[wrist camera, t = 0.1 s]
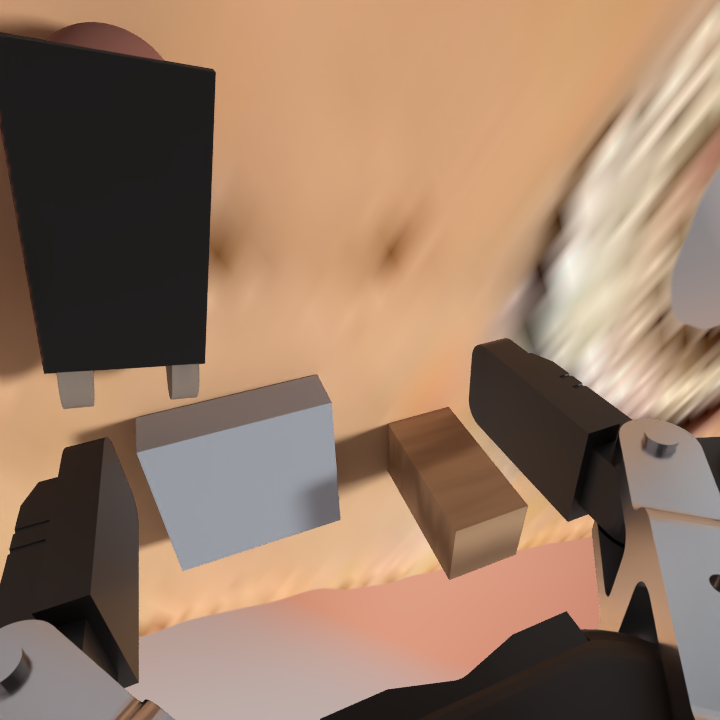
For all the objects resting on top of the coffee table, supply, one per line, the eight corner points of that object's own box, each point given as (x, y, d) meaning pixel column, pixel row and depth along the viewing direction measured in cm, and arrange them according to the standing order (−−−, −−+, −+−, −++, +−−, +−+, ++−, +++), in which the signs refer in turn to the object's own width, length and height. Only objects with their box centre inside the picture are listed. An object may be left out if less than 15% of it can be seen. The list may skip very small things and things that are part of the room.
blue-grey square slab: (135, 418, 30) (136, 452, 27) (317, 374, 33) (331, 402, 30) (179, 534, 36) (182, 571, 34) (327, 489, 39) (340, 519, 37)
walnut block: (388, 423, 38) (455, 531, 30) (448, 406, 39) (528, 505, 31) (387, 470, 40) (449, 580, 33) (443, 453, 42) (515, 554, 34)
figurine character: (197, 332, 30) (199, 30, 21) (214, 427, 24) (227, 74, 15) (64, 337, 27) (0, -6, 18) (50, 444, 22) (-51, 32, 13)
